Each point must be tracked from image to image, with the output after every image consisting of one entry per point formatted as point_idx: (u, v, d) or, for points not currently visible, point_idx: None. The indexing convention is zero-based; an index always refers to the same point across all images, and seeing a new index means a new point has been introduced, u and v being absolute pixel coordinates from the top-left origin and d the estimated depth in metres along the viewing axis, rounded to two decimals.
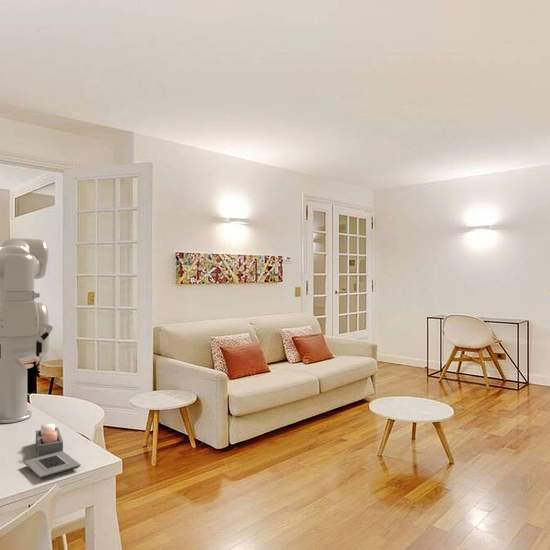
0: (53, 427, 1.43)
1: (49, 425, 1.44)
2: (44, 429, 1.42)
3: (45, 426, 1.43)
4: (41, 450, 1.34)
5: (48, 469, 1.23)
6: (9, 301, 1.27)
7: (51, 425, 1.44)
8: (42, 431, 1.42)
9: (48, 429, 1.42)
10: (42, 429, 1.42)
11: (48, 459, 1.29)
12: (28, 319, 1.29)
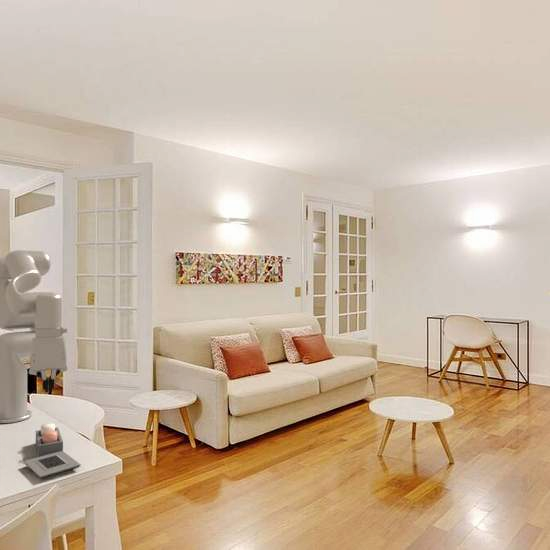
0: (53, 427, 1.43)
1: (49, 425, 1.44)
2: (44, 429, 1.42)
3: (45, 426, 1.43)
4: (41, 450, 1.34)
5: (48, 469, 1.23)
6: (40, 338, 1.40)
7: (51, 425, 1.44)
8: (42, 431, 1.42)
9: (48, 429, 1.42)
10: (42, 429, 1.42)
11: (48, 459, 1.29)
12: (57, 353, 1.43)
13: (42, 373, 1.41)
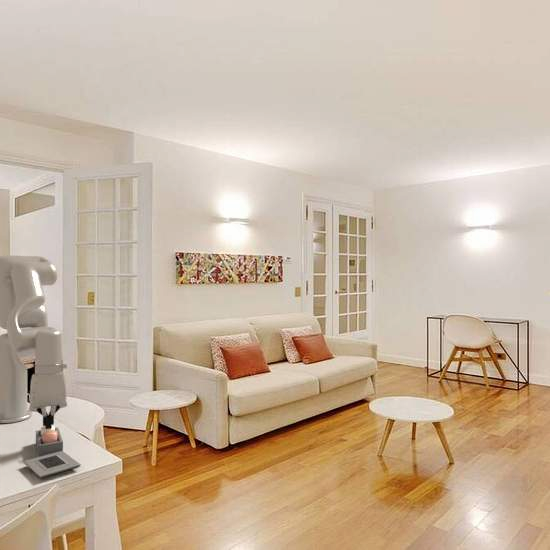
0: (53, 429, 1.43)
1: None
2: (44, 431, 1.42)
3: None
4: (41, 450, 1.34)
5: (48, 469, 1.23)
6: (40, 375, 1.40)
7: None
8: (42, 433, 1.42)
9: None
10: (42, 431, 1.42)
11: (48, 459, 1.29)
12: (57, 389, 1.43)
13: (42, 410, 1.42)
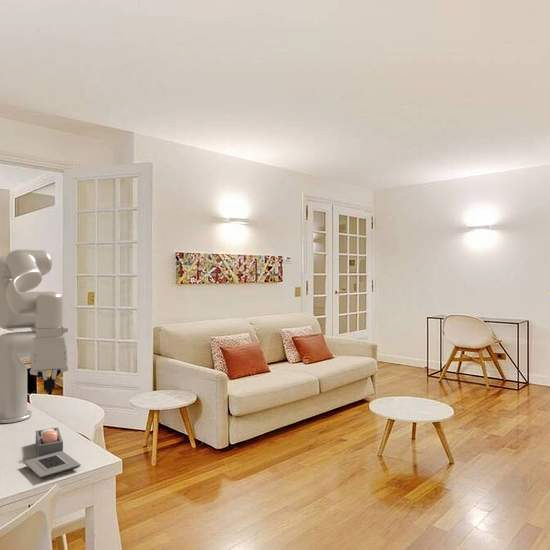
0: None
1: None
2: None
3: None
4: (41, 450, 1.34)
5: (48, 469, 1.23)
6: (41, 337, 1.38)
7: None
8: None
9: None
10: (42, 435, 1.42)
11: (48, 459, 1.29)
12: (58, 353, 1.41)
13: (43, 373, 1.40)
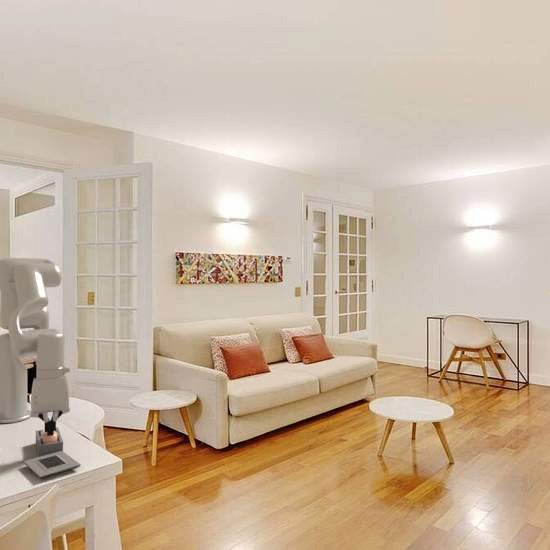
0: None
1: None
2: None
3: None
4: (41, 450, 1.34)
5: (48, 469, 1.23)
6: (42, 379, 1.34)
7: None
8: None
9: None
10: (42, 435, 1.42)
11: (48, 459, 1.29)
12: (59, 394, 1.37)
13: (44, 415, 1.36)
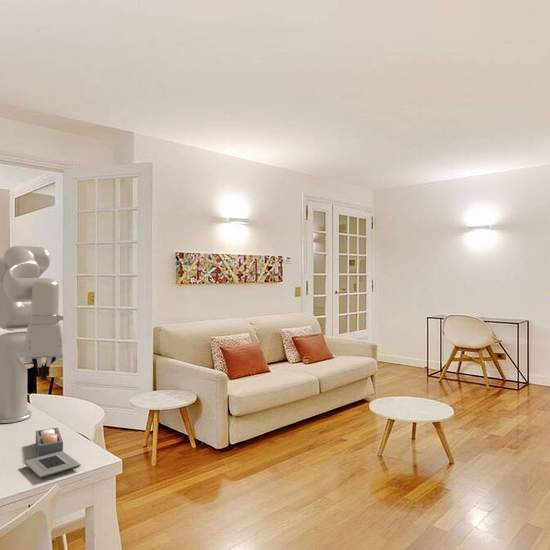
0: None
1: (49, 431, 1.44)
2: None
3: (45, 432, 1.43)
4: (41, 450, 1.34)
5: (48, 469, 1.23)
6: (36, 325, 1.37)
7: (51, 431, 1.44)
8: None
9: None
10: (42, 435, 1.42)
11: (48, 459, 1.29)
12: (53, 341, 1.41)
13: (38, 360, 1.40)
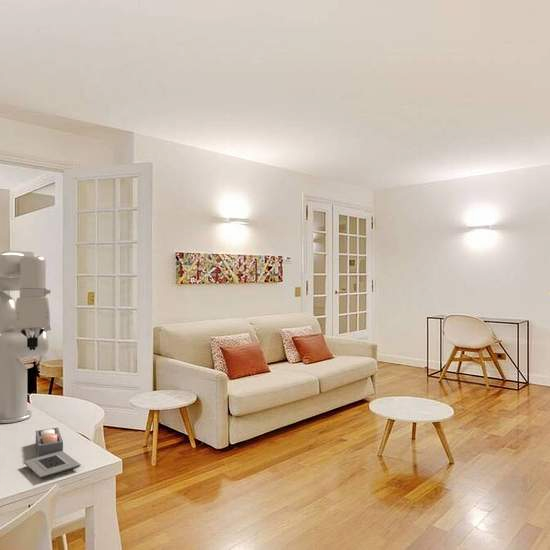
0: None
1: (49, 431, 1.44)
2: None
3: (45, 432, 1.43)
4: (41, 450, 1.34)
5: (48, 469, 1.23)
6: (24, 297, 1.46)
7: (51, 431, 1.44)
8: None
9: None
10: (42, 435, 1.42)
11: (48, 459, 1.29)
12: (41, 312, 1.48)
13: (26, 331, 1.47)
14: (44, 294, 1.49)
